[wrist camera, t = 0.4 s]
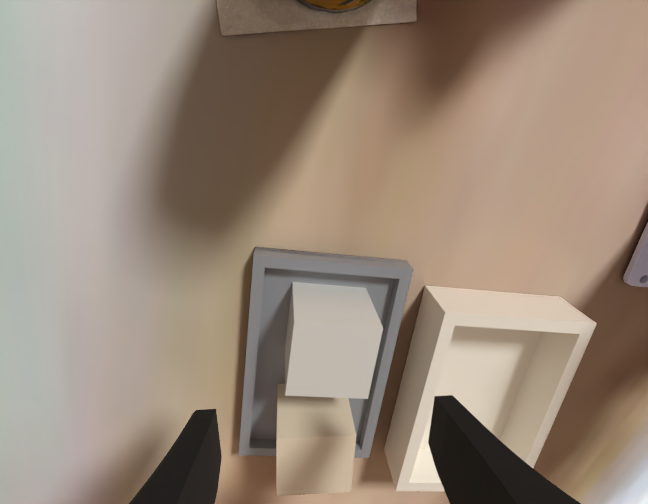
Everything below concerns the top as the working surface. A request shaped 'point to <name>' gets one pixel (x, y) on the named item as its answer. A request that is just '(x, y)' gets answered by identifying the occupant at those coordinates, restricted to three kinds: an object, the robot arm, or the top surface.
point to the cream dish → (484, 372)
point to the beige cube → (313, 444)
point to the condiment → (309, 14)
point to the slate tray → (271, 328)
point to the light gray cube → (331, 341)
